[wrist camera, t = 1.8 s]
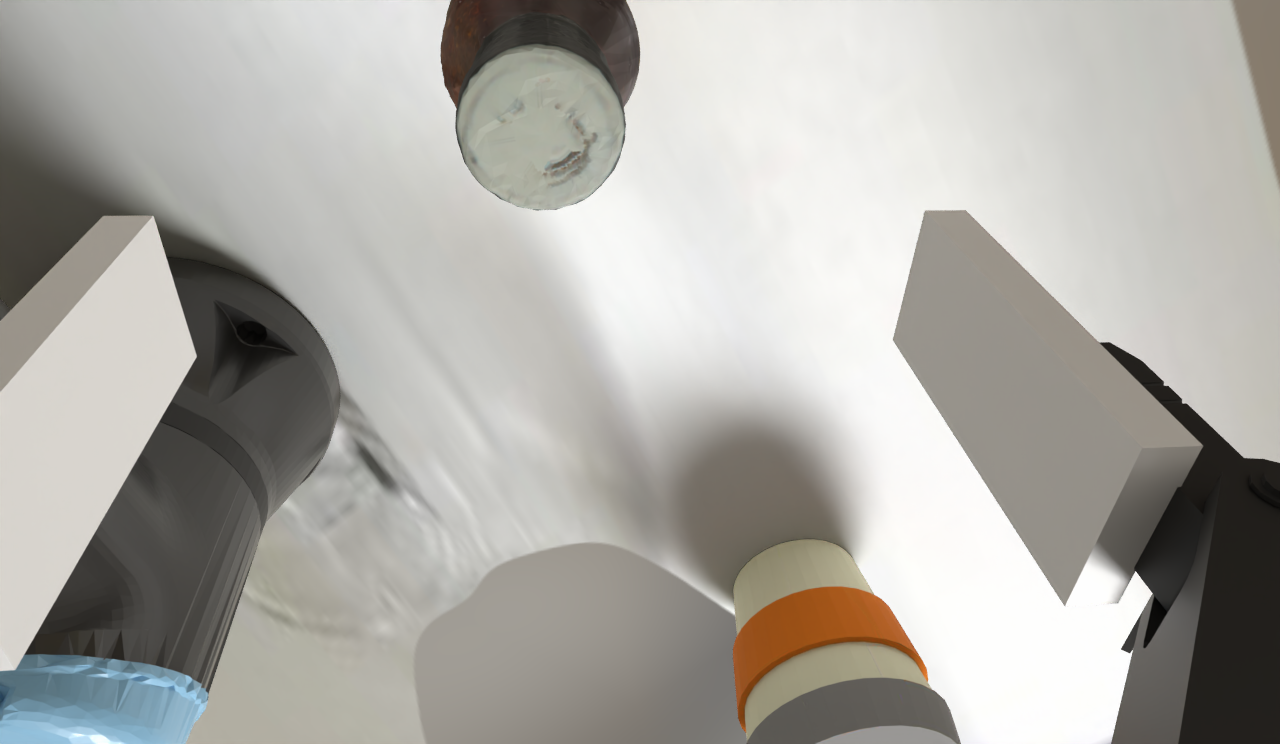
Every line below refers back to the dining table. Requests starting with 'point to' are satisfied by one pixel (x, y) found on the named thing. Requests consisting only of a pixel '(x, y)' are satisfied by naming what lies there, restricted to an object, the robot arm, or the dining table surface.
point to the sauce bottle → (540, 94)
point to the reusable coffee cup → (826, 656)
